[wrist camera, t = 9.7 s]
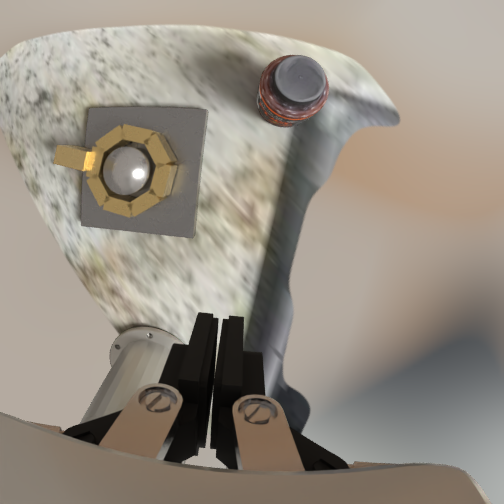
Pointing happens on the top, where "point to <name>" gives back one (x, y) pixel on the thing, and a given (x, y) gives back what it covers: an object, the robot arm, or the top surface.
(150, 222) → the spindle plate
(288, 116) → the supplement bottle
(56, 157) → the segmented octagonal ring
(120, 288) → the top surface
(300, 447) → the robot arm
